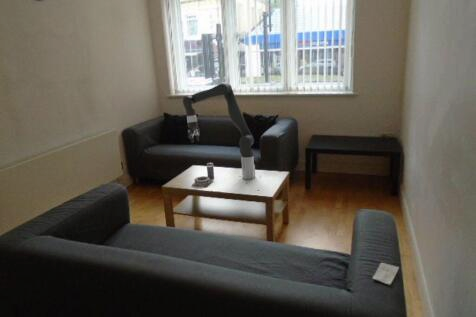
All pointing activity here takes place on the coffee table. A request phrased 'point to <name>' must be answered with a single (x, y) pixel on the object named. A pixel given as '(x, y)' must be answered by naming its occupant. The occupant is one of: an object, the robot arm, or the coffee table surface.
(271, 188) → the coffee table surface
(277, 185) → the coffee table surface
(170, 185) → the coffee table surface
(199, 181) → the mount
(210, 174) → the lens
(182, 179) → the coffee table surface
